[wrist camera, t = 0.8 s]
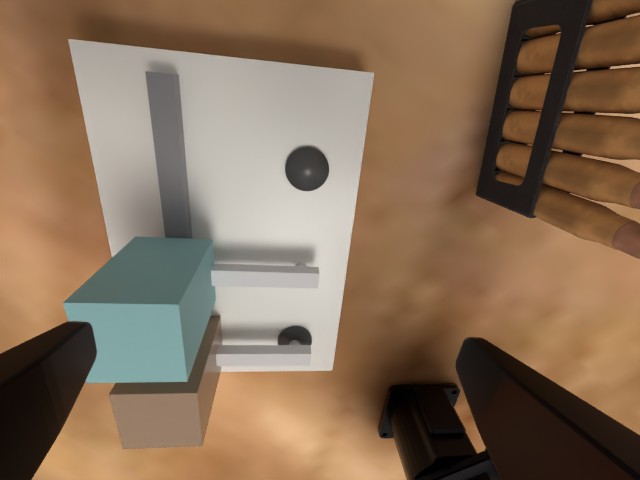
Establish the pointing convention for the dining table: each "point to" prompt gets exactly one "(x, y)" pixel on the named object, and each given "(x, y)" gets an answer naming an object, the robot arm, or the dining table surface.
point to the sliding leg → (162, 305)
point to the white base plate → (227, 203)
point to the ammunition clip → (568, 118)
